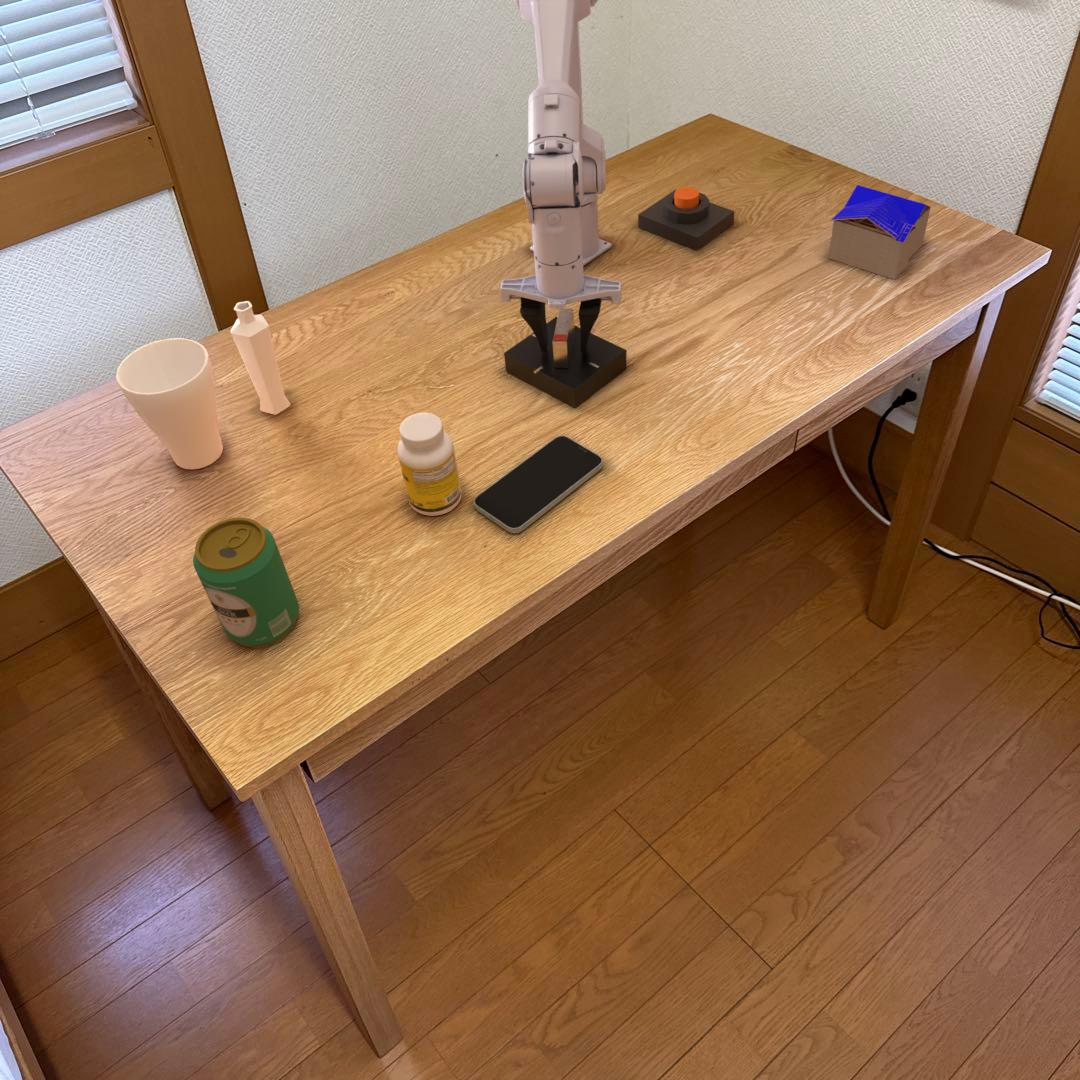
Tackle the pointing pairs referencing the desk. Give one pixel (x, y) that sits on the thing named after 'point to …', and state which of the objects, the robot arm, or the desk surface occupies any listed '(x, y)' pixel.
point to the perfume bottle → (259, 357)
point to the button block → (686, 221)
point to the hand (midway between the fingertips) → (564, 347)
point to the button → (686, 198)
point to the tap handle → (563, 338)
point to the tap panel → (571, 382)
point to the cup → (175, 398)
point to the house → (878, 231)
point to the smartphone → (538, 484)
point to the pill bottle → (428, 465)
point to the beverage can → (246, 582)
